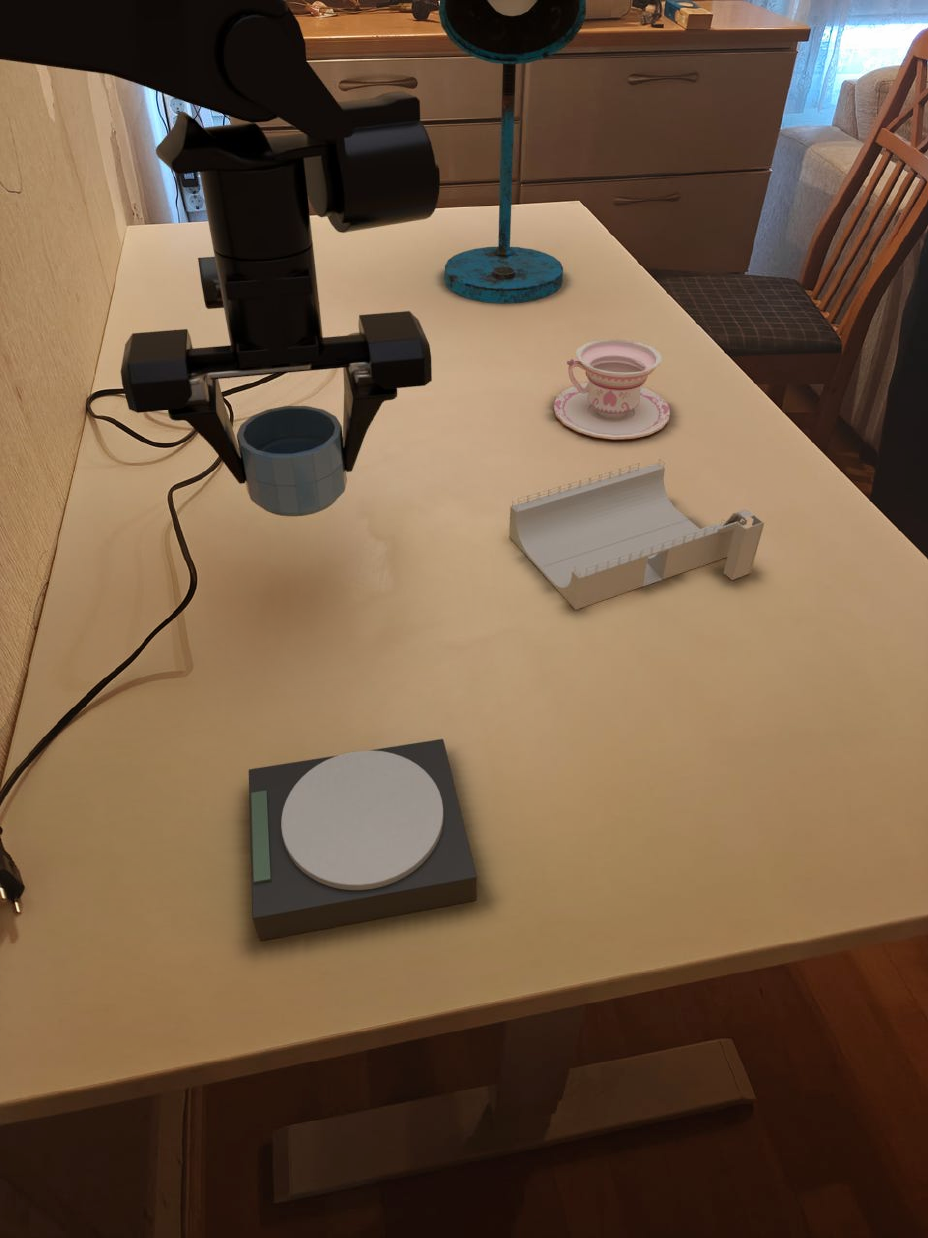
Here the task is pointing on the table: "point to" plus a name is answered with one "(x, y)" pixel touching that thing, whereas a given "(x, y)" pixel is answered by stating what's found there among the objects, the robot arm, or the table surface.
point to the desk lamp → (508, 134)
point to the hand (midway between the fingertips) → (296, 474)
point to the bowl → (293, 459)
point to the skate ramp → (623, 536)
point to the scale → (356, 839)
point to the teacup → (613, 392)
